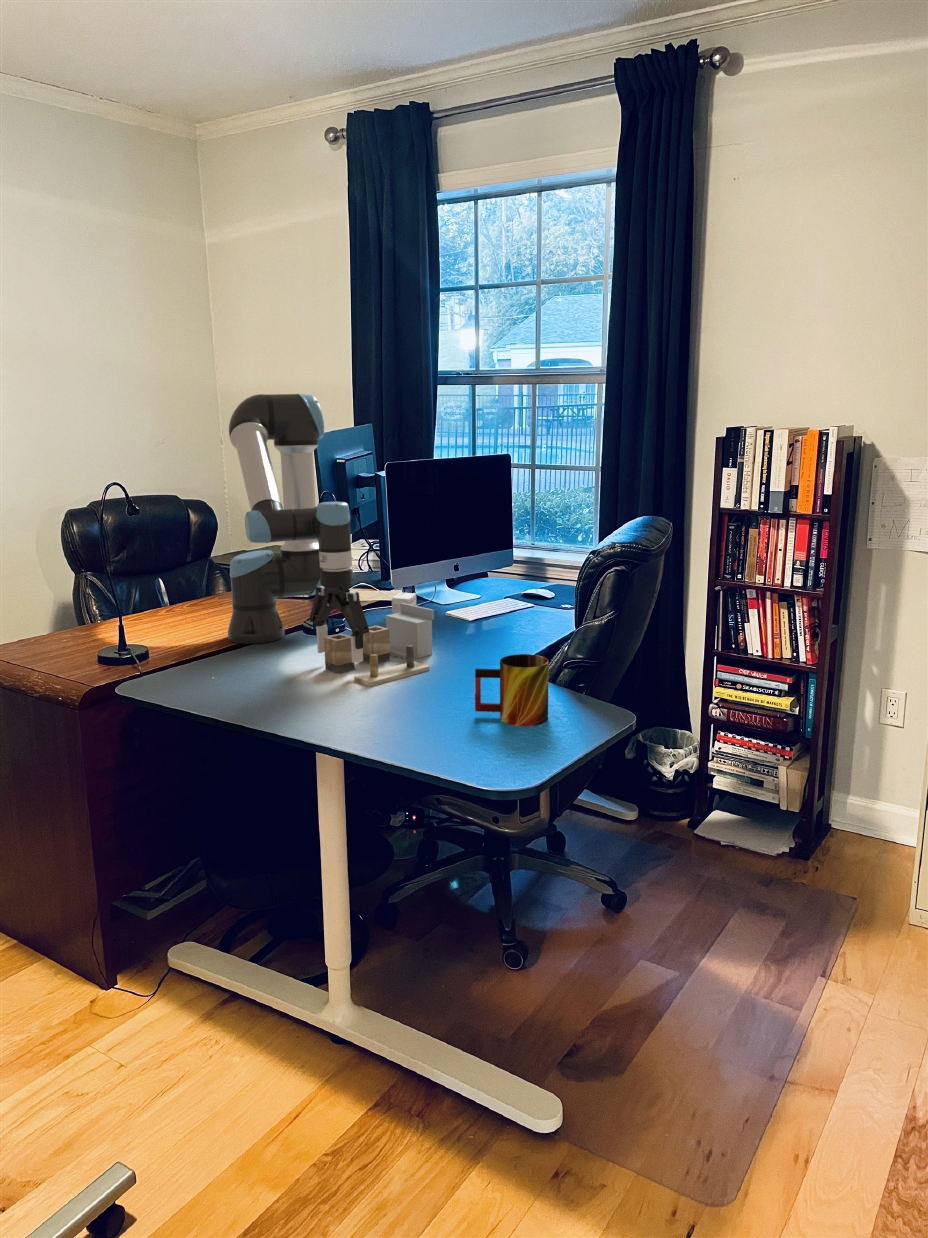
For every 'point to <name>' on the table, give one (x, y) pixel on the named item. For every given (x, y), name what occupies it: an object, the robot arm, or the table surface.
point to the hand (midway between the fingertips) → (339, 656)
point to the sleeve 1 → (338, 653)
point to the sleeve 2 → (376, 644)
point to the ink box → (402, 601)
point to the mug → (518, 690)
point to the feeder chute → (410, 631)
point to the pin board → (391, 670)
